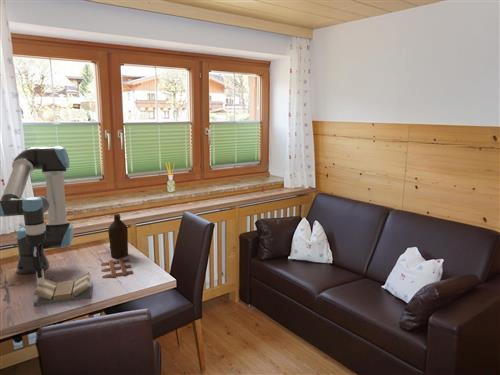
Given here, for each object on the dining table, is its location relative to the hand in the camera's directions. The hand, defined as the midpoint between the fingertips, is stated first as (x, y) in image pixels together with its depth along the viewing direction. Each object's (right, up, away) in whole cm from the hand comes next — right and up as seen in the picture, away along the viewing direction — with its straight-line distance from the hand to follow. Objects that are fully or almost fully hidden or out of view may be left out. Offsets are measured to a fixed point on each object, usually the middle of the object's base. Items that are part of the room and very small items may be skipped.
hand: (41, 283), depth 172 cm
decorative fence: (+22, -2, +34) cm, 41 cm away
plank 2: (+16, -2, +6) cm, 17 cm away
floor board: (+9, -6, +4) cm, 12 cm away
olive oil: (+17, +3, +53) cm, 56 cm away
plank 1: (+1, -3, +1) cm, 4 cm away
